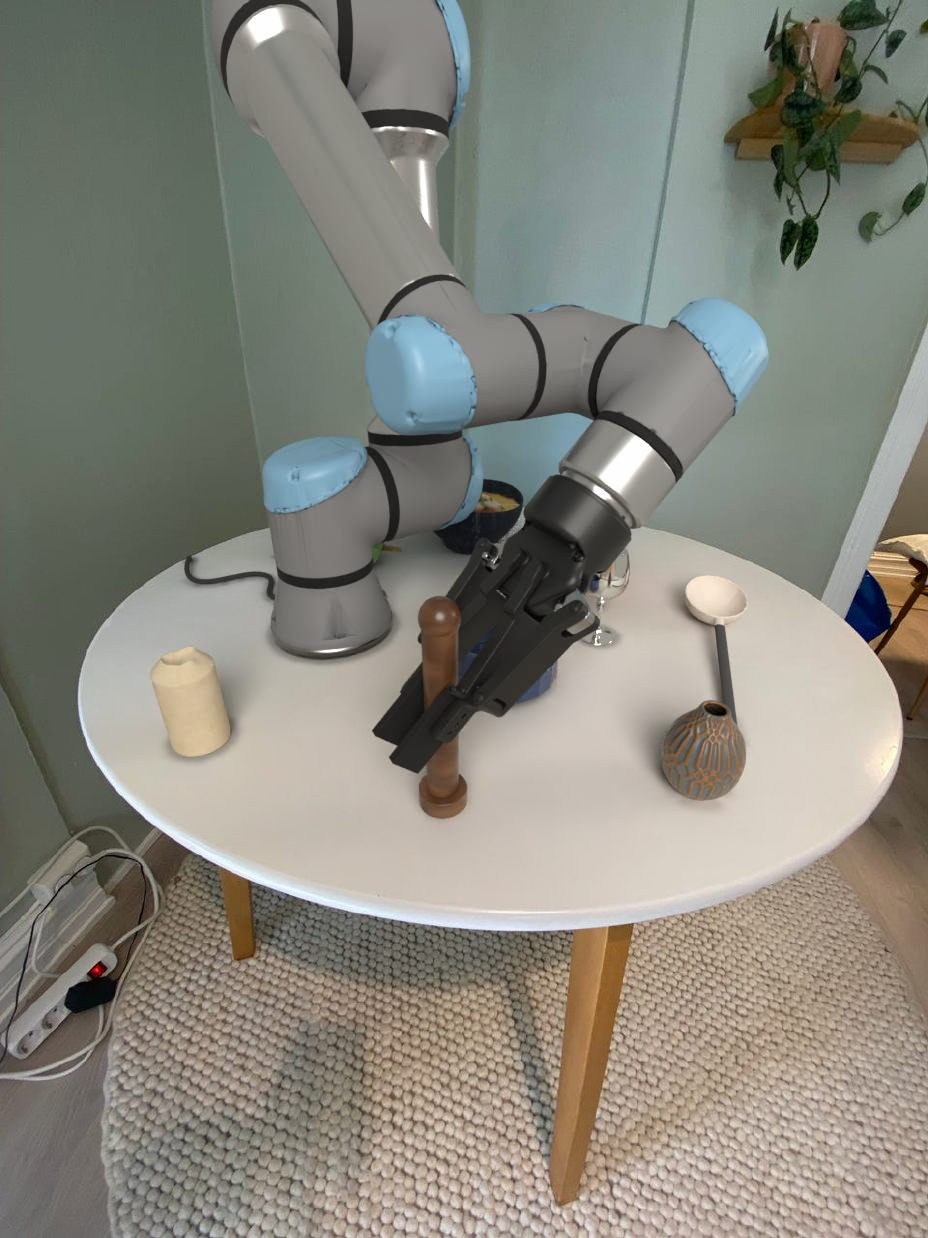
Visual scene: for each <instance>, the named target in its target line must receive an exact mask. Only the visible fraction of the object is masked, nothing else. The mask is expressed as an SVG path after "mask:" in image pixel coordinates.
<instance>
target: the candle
mask: <svg viewBox="0 0 928 1238" xmlns="http://www.w3.org/2000/svg"><path fill="white" fill-rule="evenodd" d="M215 663H216V662H215V659H214V657H212V656H211V655H210V654H209V653H206V652H205V651H202V650H200V649H198V648H197V647H195V646H186V647H183V648H182V649H180V650H176V651H173V652H169V653H167V654H164V655H163V656H162V657H160V658H159V660H157V661H156V663H155V664H154V665H153V666H152V668H151V669H150V671H149V678H150V682H151V685H152V688H153V691H154V694H155V698H156V700H157V704H158V708H159V711H160V713H161V718H162V719H163V720H162V721H163V723H164V726H165V729H166V733H167V735H168V739H169V742H170V745H171V747H172V749H173V750H174V752H175V753H176V754H178V755H180V756H183V757H188V758H189V757H190V758H192V757H195V758H196V757H202V756H205V755H209V754H211V753H213V752H215V751H217V750H219V749H220V748H222V747H223V746H224V745H225V744H226V743H227V742H228V740H229V739H230V736H231V724H230V721H229V716H228V712H227V707H226V703H225V700H224V696H223V691H222V688H221V683H220V679H219V675H218V671H217V667H216V664H215Z"/></svg>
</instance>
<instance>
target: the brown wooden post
mask: <svg viewBox="0 0 928 1238" xmlns="http://www.w3.org/2000/svg"><path fill="white" fill-rule="evenodd" d="M417 623H418V626H419V628H420V632H421V640H422V644H421V662H422V666H423V693H424V712H425V711H426V710H427V709H428V707H429V706H430V705H431V704H432V702H433V701H434V700H435V699H436V697H437V696H438V695H439V694H440V692H441V691H442V690H443V689H444V687H446V688H448V685H449V683H451V684H453V685H454V686H457V685H458V683H459V627H460V624H461V612H460V609H459V607H458V605H457V604H456V603H455V602H454V601H453V600H451V599H450V598H447V597H445V595H435V596H432V597H430V598H428V599H426V600H425V601H424V602H423V603H422V604H421V606H420V607H419V610H418V613H417ZM459 736H460V732H459V733H458V734H457V736H456V737H455V738H454V740H453V741H451V742H450V743H448V744H446V743H443V744H442V745H441V746H440V748H439V749H438V750H437V751H436V753H435V754H434V755H433V756H432V758H431V759H430V760H429V761H428V763H427V764H426V765H425V769H426V770H425V771H426V772H425V773H426V774H425V775H424V776H423V777H422V778H421V780H420V781H419V783H418V784H419V785H418V803H419V806H420V808H421V810H422V811H423V812H424V813H425V814H426V815H428V816H429V817H432V818H435V819H442V820H445V819H451V818H454V817H456V816H458V815H459V814H461V813H462V812H463V811H464V809H465V808H466V806H467V804H468V783H467V780H466V779H465V778H464V776H463V775H462V774H461V773H460V771H459V769H460V762H459V761H460V758H459V757H460V754H459V753H460V744H459V743H460V739H459V738H460V737H459Z"/></svg>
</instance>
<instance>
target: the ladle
mask: <svg viewBox="0 0 928 1238" xmlns="http://www.w3.org/2000/svg"><path fill="white" fill-rule="evenodd" d="M684 600H685V604H686V606H687V609H688V610H689V612H690V614H691V615H692V616H694V617H695V618H696V619H698V620H699V621H701V622H703V623H705V624H708V625H712V626H714V632H715V634H714V635H715V643H716V652H717V653H716V654H717V662H718V673H719V682H720V691H721V692H720V693H721V701H722V702H721V703H723V704H725V705H726V706H727V707H728V708H729V709H730V711H731V716H732V719H733V721H734V722H735V723H736V725H737V727H738V726H739V725H738V720H737V719H738V717H737V712H736V703H735V694H734V687H733V679H732V672H731V663H730V656H729V648H728V639H727V632H726V626H727V625H730V624H732V623H734V622H735V621H737V620H739V619H740V618H741V617H742V616H743V614H744V613H745V612H746V610H747V608H748V606H749V605H748V603H749V599H748V596H747V594H746V592H745V591H744V590H743V589H742V588H741V587H740V586H739V585H737V584H736V583H735V582H733V581H731V580H729V579H727V578H724V577H722V576H717V575H707V574H704V575H699V576H696V577H694V578H692V579H690V580H689V581H688V582H687V584H686V585H685V589H684ZM738 728H739V727H738Z"/></svg>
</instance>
